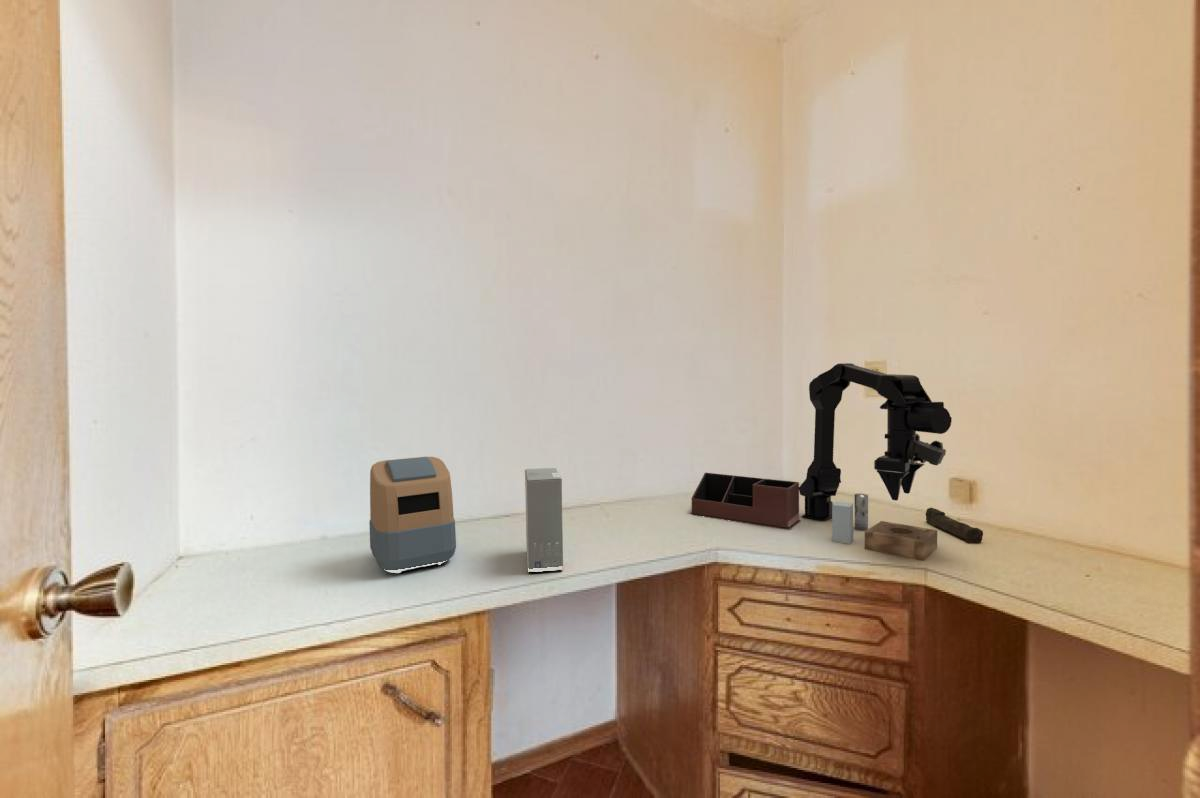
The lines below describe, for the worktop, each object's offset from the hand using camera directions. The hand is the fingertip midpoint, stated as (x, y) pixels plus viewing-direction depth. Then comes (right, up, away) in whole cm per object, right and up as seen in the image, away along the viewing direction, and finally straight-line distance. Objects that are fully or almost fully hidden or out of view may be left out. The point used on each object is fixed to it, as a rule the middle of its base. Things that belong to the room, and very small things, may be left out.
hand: (901, 496), depth 122 cm
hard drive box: (-82, -14, -4) cm, 84 cm away
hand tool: (+19, -12, +12) cm, 25 cm away
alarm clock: (-112, -15, -2) cm, 113 cm away
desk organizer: (-29, -12, +29) cm, 43 cm away
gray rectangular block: (-10, -12, +7) cm, 17 cm away
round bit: (-1, -11, +16) cm, 20 cm away
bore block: (0, -12, +1) cm, 12 cm away
